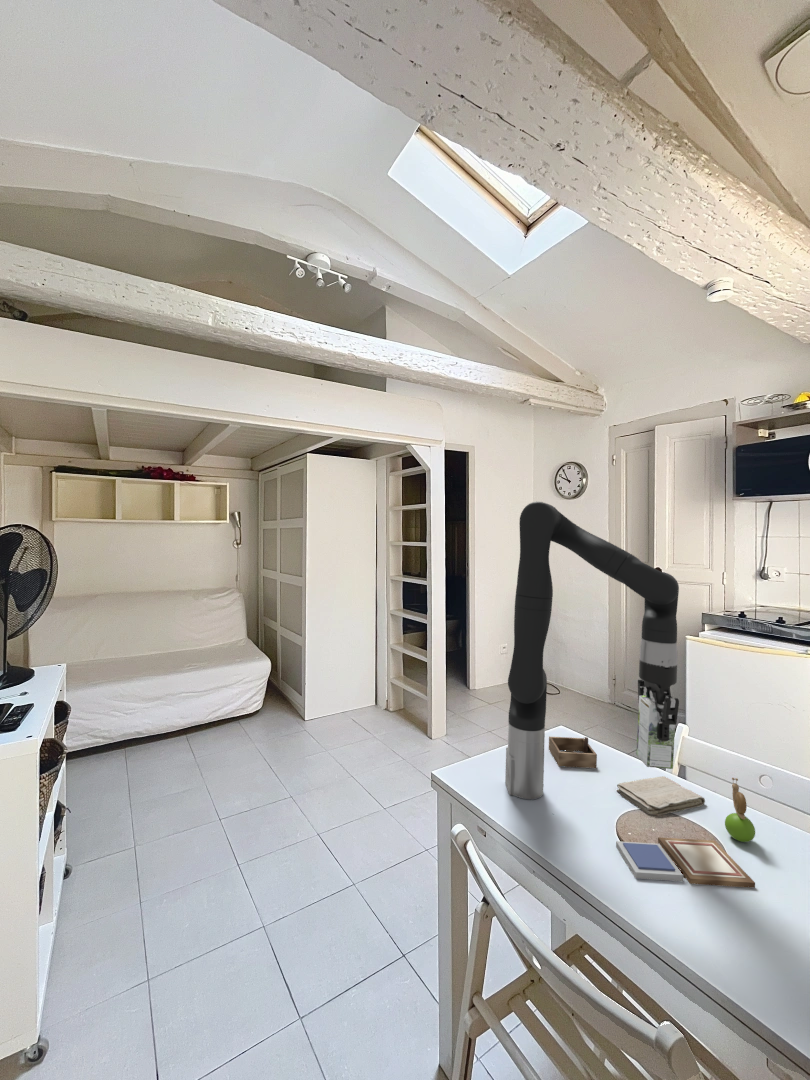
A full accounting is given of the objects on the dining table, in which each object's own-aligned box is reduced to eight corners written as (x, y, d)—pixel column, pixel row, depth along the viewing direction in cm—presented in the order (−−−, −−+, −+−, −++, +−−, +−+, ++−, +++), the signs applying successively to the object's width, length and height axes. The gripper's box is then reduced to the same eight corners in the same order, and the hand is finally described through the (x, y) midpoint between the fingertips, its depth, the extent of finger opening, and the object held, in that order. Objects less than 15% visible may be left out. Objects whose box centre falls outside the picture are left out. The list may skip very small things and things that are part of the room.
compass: (560, 752, 139) (561, 729, 139) (588, 758, 136) (588, 734, 136) (558, 763, 132) (558, 739, 132) (587, 770, 129) (587, 744, 129)
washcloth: (613, 793, 118) (613, 781, 118) (664, 782, 124) (664, 771, 124) (652, 819, 106) (652, 807, 106) (706, 807, 112) (706, 794, 112)
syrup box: (661, 757, 104) (663, 695, 104) (674, 770, 99) (676, 704, 99) (635, 755, 105) (638, 693, 105) (646, 768, 99) (649, 702, 99)
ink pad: (635, 878, 87) (635, 870, 87) (616, 846, 96) (616, 839, 96) (683, 881, 86) (683, 873, 86) (659, 849, 95) (659, 841, 95)
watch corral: (558, 766, 130) (558, 752, 130) (548, 749, 141) (549, 736, 141) (596, 768, 129) (596, 754, 129) (583, 750, 140) (583, 738, 140)
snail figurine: (747, 832, 102) (748, 779, 102) (759, 850, 96) (760, 794, 96) (719, 826, 104) (720, 775, 104) (729, 844, 98) (730, 789, 98)
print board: (690, 883, 86) (690, 877, 86) (658, 841, 98) (658, 836, 98) (755, 887, 85) (755, 881, 85) (714, 845, 97) (714, 839, 97)
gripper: (627, 651, 109) (624, 720, 109) (657, 668, 95) (654, 747, 95) (658, 653, 109) (656, 722, 109) (693, 670, 94) (690, 749, 94)
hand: (655, 733), depth 102 cm, fingers closed on syrup box, 6 cm apart
